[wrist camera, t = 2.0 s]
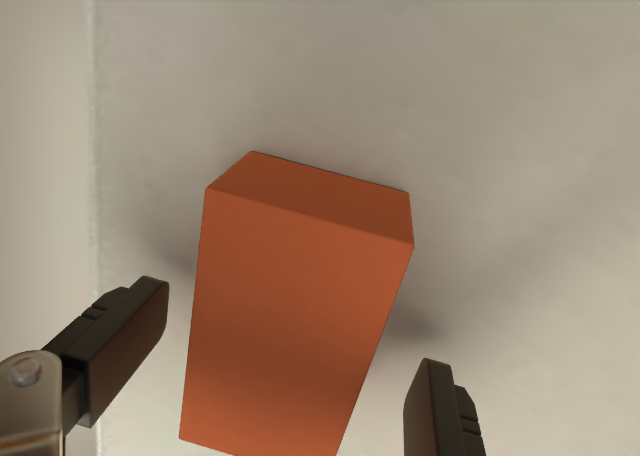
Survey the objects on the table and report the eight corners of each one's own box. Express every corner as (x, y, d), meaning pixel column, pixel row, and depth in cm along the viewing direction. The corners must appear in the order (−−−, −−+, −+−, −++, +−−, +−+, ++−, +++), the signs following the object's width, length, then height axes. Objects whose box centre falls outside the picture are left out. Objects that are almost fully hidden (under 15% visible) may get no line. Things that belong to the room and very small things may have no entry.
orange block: (250, 149, 13) (204, 187, 10) (409, 192, 13) (415, 245, 9) (217, 363, 17) (177, 439, 14) (338, 398, 16) (325, 484, 13)
